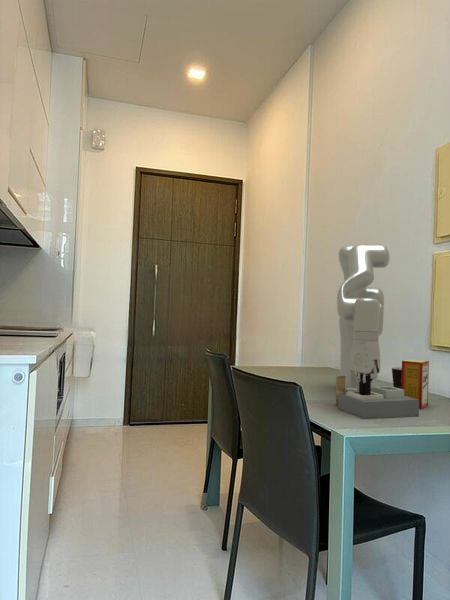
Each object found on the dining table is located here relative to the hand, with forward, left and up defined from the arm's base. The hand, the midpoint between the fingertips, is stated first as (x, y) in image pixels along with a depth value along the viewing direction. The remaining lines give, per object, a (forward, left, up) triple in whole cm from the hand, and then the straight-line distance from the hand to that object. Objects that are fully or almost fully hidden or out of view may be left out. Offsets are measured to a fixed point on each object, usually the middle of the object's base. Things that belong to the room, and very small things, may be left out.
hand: (364, 394), depth 142 cm
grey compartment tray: (0, +5, -6) cm, 8 cm away
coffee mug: (-25, +38, -6) cm, 46 cm away
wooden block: (-12, -1, -6) cm, 13 cm away
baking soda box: (-6, +25, -6) cm, 26 cm away
